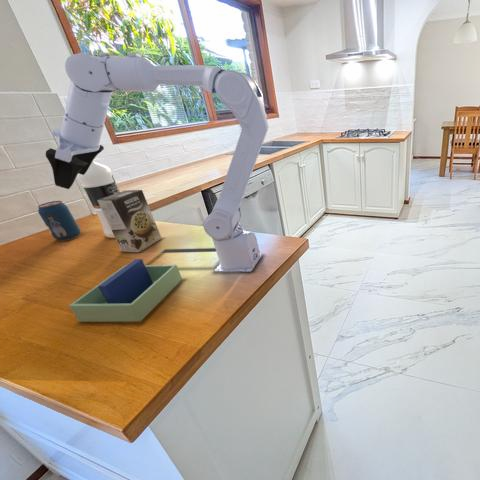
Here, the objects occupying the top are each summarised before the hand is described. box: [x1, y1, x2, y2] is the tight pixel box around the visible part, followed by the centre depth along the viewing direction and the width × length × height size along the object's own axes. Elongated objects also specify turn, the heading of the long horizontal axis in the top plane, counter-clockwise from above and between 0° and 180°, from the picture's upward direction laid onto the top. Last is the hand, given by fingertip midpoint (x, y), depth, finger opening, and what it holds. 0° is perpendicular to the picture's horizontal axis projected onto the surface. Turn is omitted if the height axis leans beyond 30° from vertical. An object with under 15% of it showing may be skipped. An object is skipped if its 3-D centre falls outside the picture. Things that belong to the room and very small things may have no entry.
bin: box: [68, 264, 183, 323], centre depth 63 cm, size 13×14×4 cm
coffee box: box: [97, 189, 163, 253], centre depth 84 cm, size 9×6×16 cm
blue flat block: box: [98, 258, 153, 304], centre depth 62 cm, size 2×10×7 cm, turn 176°
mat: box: [160, 247, 217, 254], centre depth 78 cm, size 20×10×1 cm, turn 86°
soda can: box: [37, 200, 82, 242], centre depth 95 cm, size 7×7×12 cm
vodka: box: [76, 159, 121, 239], centre depth 90 cm, size 9×9×30 cm
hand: (70, 179), depth 61 cm, fingers open, 7 cm apart
